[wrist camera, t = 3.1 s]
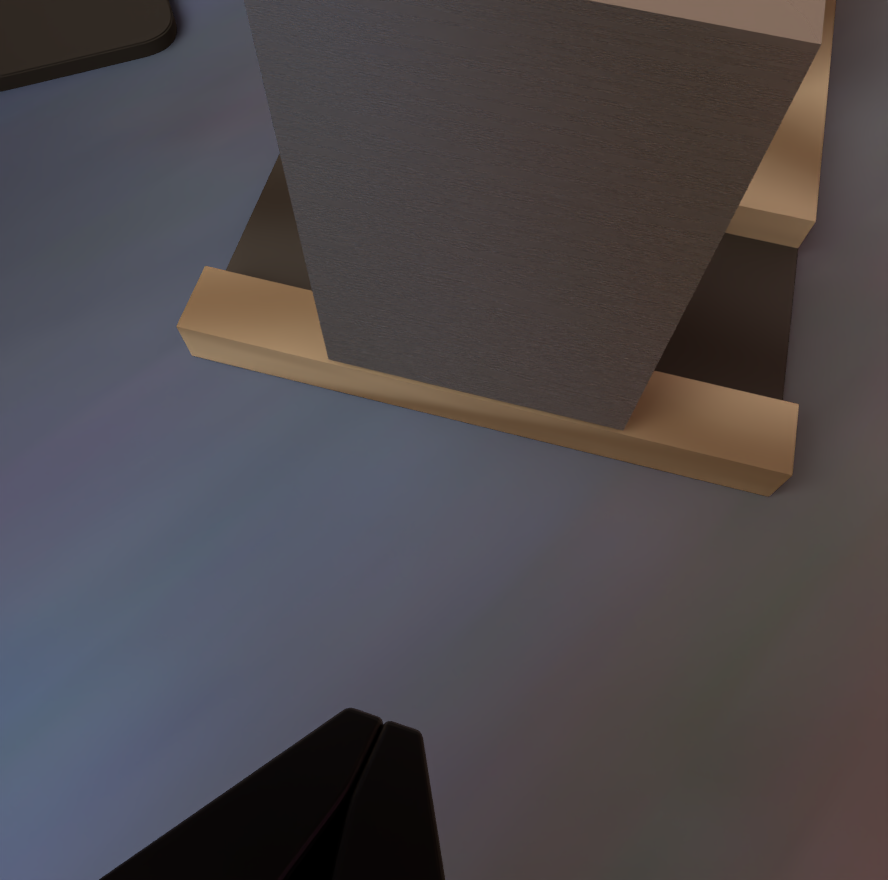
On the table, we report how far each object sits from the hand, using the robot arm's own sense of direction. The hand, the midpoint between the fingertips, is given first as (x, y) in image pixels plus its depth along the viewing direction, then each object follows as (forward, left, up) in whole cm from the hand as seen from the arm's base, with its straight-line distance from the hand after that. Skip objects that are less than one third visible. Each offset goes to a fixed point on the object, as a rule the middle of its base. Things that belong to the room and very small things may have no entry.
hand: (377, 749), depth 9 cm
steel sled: (+18, -6, -9) cm, 21 cm away
